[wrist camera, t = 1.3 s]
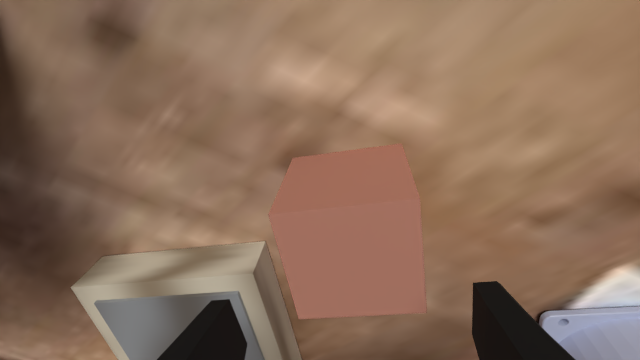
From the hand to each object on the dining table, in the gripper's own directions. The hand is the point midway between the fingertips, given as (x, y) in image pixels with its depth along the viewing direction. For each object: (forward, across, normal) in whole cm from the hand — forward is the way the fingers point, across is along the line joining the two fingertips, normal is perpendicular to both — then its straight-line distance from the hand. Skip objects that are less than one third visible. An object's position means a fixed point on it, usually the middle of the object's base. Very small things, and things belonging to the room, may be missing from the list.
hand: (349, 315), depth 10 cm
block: (+7, 0, 0) cm, 7 cm away
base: (+7, +10, +7) cm, 14 cm away
